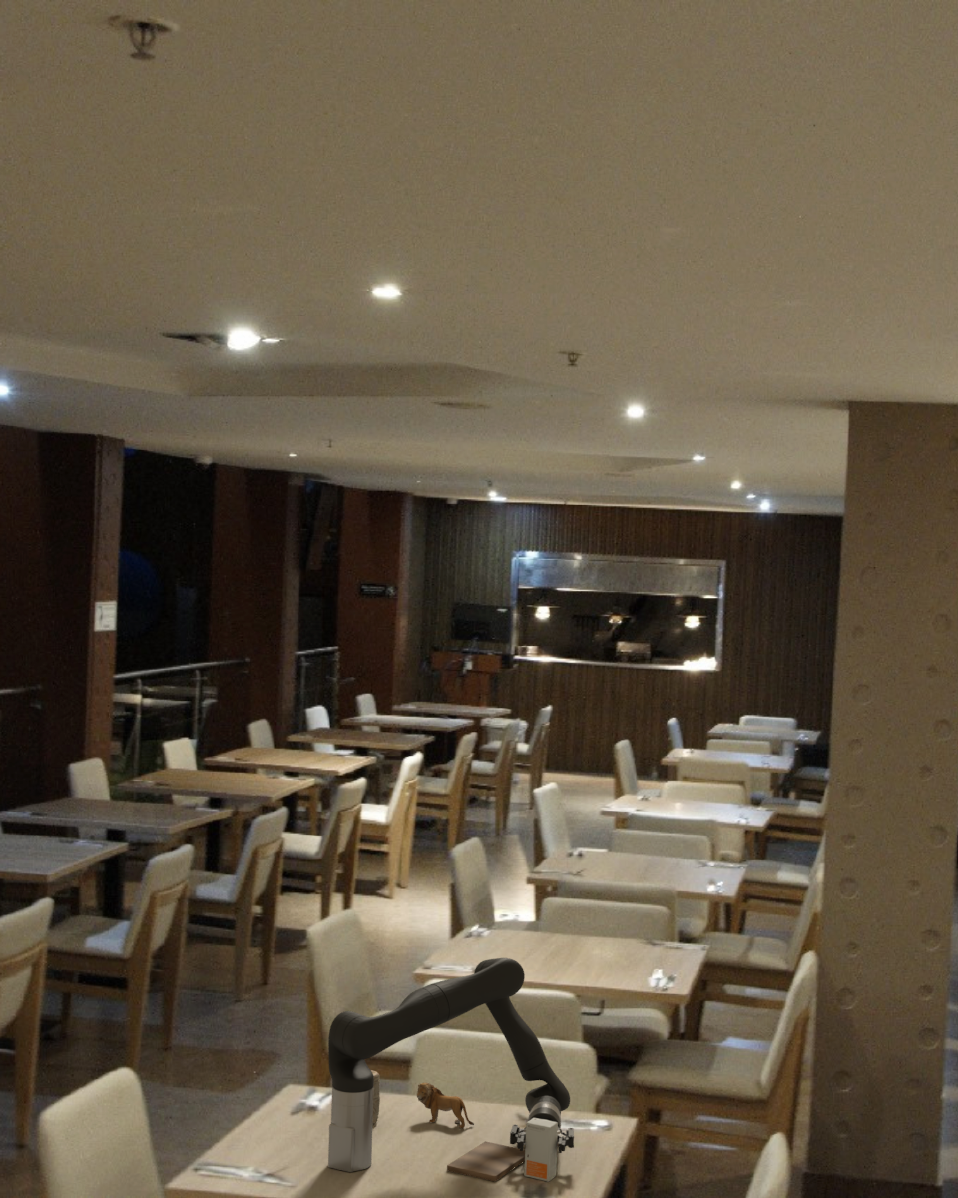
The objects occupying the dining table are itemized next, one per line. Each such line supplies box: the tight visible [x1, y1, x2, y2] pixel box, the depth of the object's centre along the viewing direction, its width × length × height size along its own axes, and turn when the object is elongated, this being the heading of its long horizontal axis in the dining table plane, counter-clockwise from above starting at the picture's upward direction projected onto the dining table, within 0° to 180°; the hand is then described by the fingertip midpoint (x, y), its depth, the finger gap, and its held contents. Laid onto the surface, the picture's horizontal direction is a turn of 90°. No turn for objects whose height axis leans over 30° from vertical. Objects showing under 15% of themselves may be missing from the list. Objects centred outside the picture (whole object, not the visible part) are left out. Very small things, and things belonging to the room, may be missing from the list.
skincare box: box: [523, 1118, 558, 1182], centre depth 343 cm, size 6×4×12 cm
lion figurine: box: [416, 1082, 475, 1129], centre depth 377 cm, size 15×5×9 cm, turn 72°
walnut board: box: [446, 1141, 525, 1183], centre depth 350 cm, size 18×12×1 cm, turn 152°
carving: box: [370, 1069, 381, 1125], centre depth 375 cm, size 6×8×12 cm
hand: (540, 1147), depth 341 cm, fingers open, 8 cm apart
